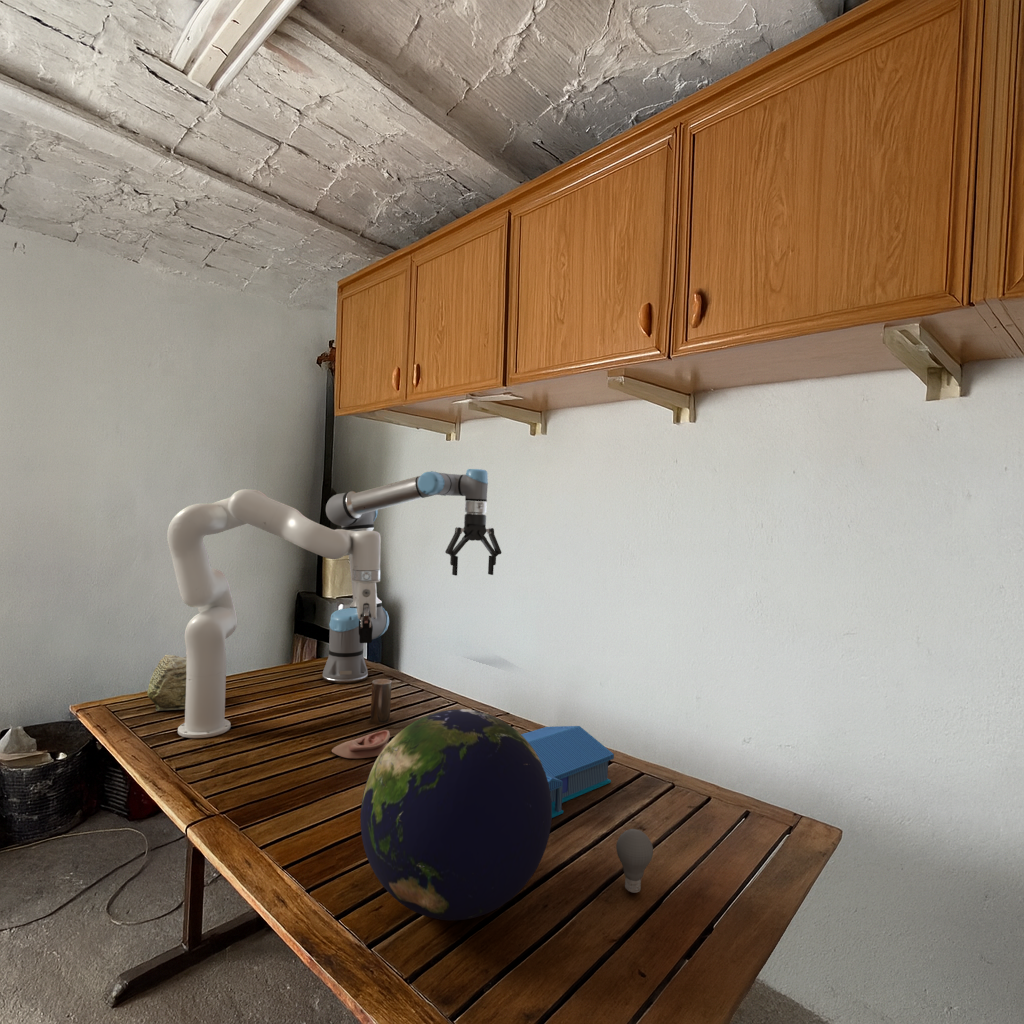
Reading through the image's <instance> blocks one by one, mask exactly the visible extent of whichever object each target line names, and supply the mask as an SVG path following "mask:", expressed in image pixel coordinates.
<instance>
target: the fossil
mask: <svg viewBox="0 0 1024 1024" xmlns="http://www.w3.org/2000/svg"><path fill="white" fill-rule="evenodd" d="M186 665H187V656H183V657H182V656H178V655H175V654H174V655H173V654H165V655H164V656H163V657H162V658H161V659H160V660H159V662H158V663H157V666H156V667H155V669H154V670H153V672H152V675H151V677H150V680H149V684H148V688H147V697H148V699H149V700H150V701H152V703H153V704H154V706H155V711H158V712H159V711H162V712H163V711H177V710H185V701H186Z"/></svg>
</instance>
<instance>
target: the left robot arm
mask: <svg viewBox="0 0 1024 1024" xmlns="http://www.w3.org/2000/svg"><path fill="white" fill-rule="evenodd" d="M246 524H247V525H250V526H252V527H254V528H257V529H260V530H263V531H265V532H267V533H270V534H273V535H275V536H277V537H279V538H281V539H283V540H285V541H286V542H289V543H291V544H293V545H295V546H297V547H299V548H302V549H304V550H306V551H308V552H311V553H313V554H315V555H318V556H320V557H323V558H326V559H328V560H329V559H330V560H339V559H342V558H343V557H346V556H349V555H352V582H355V583H356V605H357V614H358V619H360V620H361V621H359V635H360V636H359V642H360V643H364V644H372V642H373V640H372V627H371V616H372V618H374V619H376V601H377V598H378V593H377V592H378V591H377V583H380V582H381V550H382V549H381V544H382V543H381V533H380V532H379V531H377V530H372V531H349V530H343V529H342V528H336V529H333V528H330V527H327V526H325V525H323V524H320V523H318V522H316V521H314V520H312V519H310V518H308V517H306V516H305V515H304V514H302V512H301V511H299V510H298V509H297V508H295V507H293V506H290V505H288V504H286V503H283V502H281V501H278V500H276V499H273V498H271V497H269V496H267V495H266V494H265V493H264V492H262V491H261V490H258V489H254V488H253V489H250V488H243V489H242V488H241V489H239V490H237V491H235V492H233V493H232V495H230V496H229V497H227V498H224V499H221V500H217V501H214V502H207V503H206V502H201V503H194V504H189V505H188V506H186V507H184V508H183V509H181V510H180V511H178V512H177V513H176V514H175V515H174V517H172V519H171V521H170V522H169V525H168V527H167V532H166V533H167V534H166V537H167V538H166V539H167V544H168V545H167V546H168V548H169V553H170V556H171V560H172V561H171V562H172V564H173V570H174V574H175V575H174V576H175V579H176V582H177V587H178V591H179V595H180V598H181V601H182V602H183V603H184V604H185V605H186V606H188V607H190V608H197V610H198V613H197V614H195V615H194V616H193V617H192V618H191V619H190V620H189V621H188V622H187V624H186V627H185V630H184V644H185V645H184V646H185V653H186V654H185V657H187V665H186V701H185V709H184V722H182V724H180V725H179V726H178V727H177V734H178V735H179V736H180V737H182V738H188V739H207V738H212V737H216V736H220V735H222V734H224V733H227V732H228V731H230V729H231V727H232V725H231V723H232V722H231V721H230V720H228V719H226V718H225V715H226V692H227V691H226V689H227V650H226V639H228V638H229V637H230V636H231V635H232V634H233V633H234V632H236V628H237V626H238V615H237V611H236V607H235V606H236V605H235V602H234V597H233V594H232V590H231V586H230V582H229V580H228V578H227V576H226V575H225V574H224V572H222V571H221V570H219V569H218V568H215V567H212V565H211V562H210V557H209V556H210V555H209V552H208V550H207V548H206V546H205V543H204V537H205V536H210V535H216V534H220V533H223V532H226V531H229V530H232V529H234V528H238V527H241V526H244V525H246ZM352 582H351V583H352Z"/></svg>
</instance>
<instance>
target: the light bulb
mask: <svg viewBox="0 0 1024 1024" xmlns="http://www.w3.org/2000/svg"><path fill="white" fill-rule="evenodd" d="M615 849H616V854H617V857H618V859H619V861H620V863H621V865H622V867H623V873H624V874H623V875H624V876H625V878H624V888H625V890H627V891H628V892H630V893H634V894H635V893H639V892H640V891H641V889H642V887H641V886H642V879H643V877H644V875H645V871H646V868H647V867H648V866H649V864H650V863H651V861H652V859H653V855H654V847H653V843H652V841H651V838H649V836H648V835H647V834H646V833H645V832H643V831H642V830H641V829H636V828H629V829H627V830H625V831H623V832H622V833H621V834H620V835H619V837H618V839H617V841H616V847H615Z"/></svg>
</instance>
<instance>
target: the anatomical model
mask: <svg viewBox="0 0 1024 1024" xmlns="http://www.w3.org/2000/svg"><path fill="white" fill-rule="evenodd" d="M390 738H391V732H390V730H388V729H387V730H386V729H384V730H379V731H376V732H373V733H372V732H371V733H369V734H367V735H363V736H361V737H357V738H356V739H351V740H348V741H344V742H342V743H339V744H338V745H336V746H334V747H333V748H332V749H331V752H332V753H333V754H334V755H337V756H339V757H342V758H344V759H365V758H367V759H368V758H374V757H378V756H379V755H380V753H381V752H382V750H383V749H384V748H385V746H386V745H387V744H388V743H389V740H390Z"/></svg>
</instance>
